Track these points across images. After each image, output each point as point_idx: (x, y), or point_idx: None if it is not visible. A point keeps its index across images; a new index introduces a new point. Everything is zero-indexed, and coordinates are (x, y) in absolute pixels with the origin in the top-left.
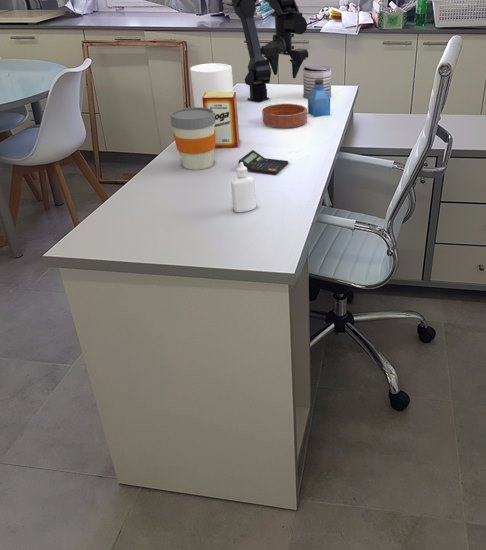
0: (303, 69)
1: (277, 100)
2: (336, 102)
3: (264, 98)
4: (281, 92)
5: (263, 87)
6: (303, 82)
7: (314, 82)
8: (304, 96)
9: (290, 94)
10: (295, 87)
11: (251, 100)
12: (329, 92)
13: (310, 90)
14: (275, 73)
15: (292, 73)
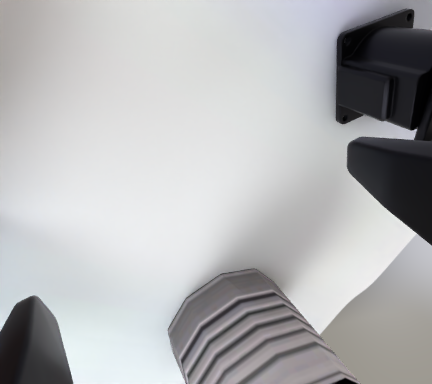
0: (341, 376)
1: (294, 146)
2: (89, 371)
3: (340, 82)
4: (361, 212)
5: (398, 101)
6: (294, 317)
7: (225, 369)
8: (249, 272)
9: (318, 233)
10: (362, 273)
11: (383, 17)
12: (182, 374)
13: (225, 316)
14: (361, 158)
15: (16, 355)
